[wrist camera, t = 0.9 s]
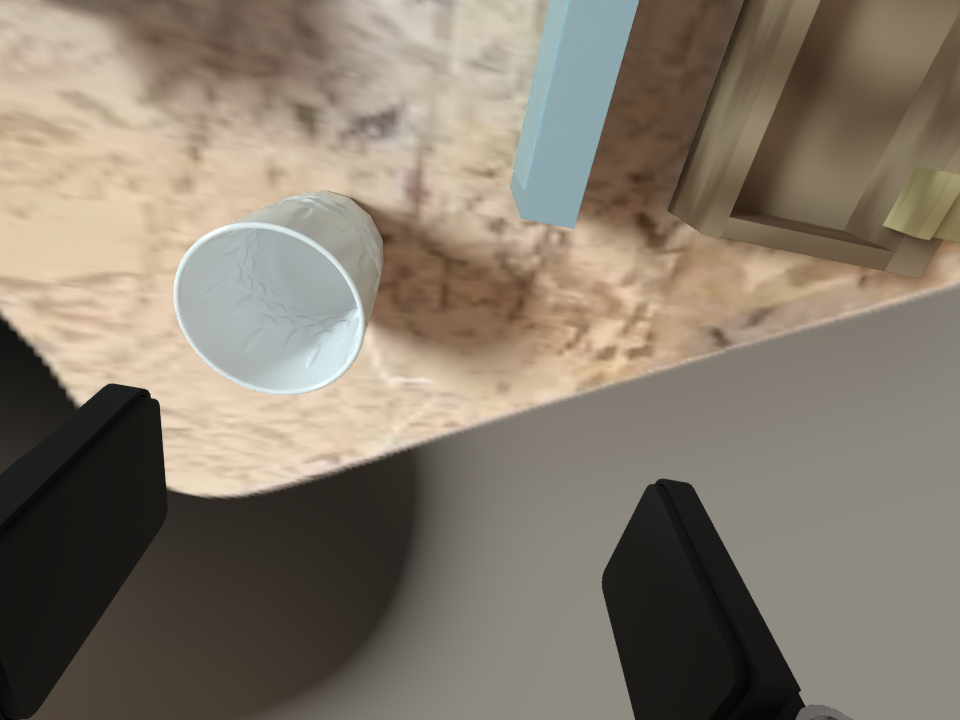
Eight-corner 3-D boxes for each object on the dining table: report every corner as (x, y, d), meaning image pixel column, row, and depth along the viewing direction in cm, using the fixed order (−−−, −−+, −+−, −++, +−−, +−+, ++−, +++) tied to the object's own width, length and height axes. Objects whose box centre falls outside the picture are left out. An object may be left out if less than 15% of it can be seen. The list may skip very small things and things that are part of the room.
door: (571, -110, 23) (610, -183, 17) (625, -95, 24) (685, -161, 17) (507, 186, 29) (517, 217, 23) (551, 195, 30) (573, 228, 23)
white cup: (407, 202, 30) (381, 255, 21) (379, 324, 33) (347, 412, 24) (266, 159, 29) (175, 196, 20) (252, 291, 32) (170, 371, 23)
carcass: (802, -158, 23) (930, -248, 16) (1067, -78, 24) (1280, -134, 18) (667, 210, 30) (720, 246, 24) (877, 254, 32) (979, 298, 25)
